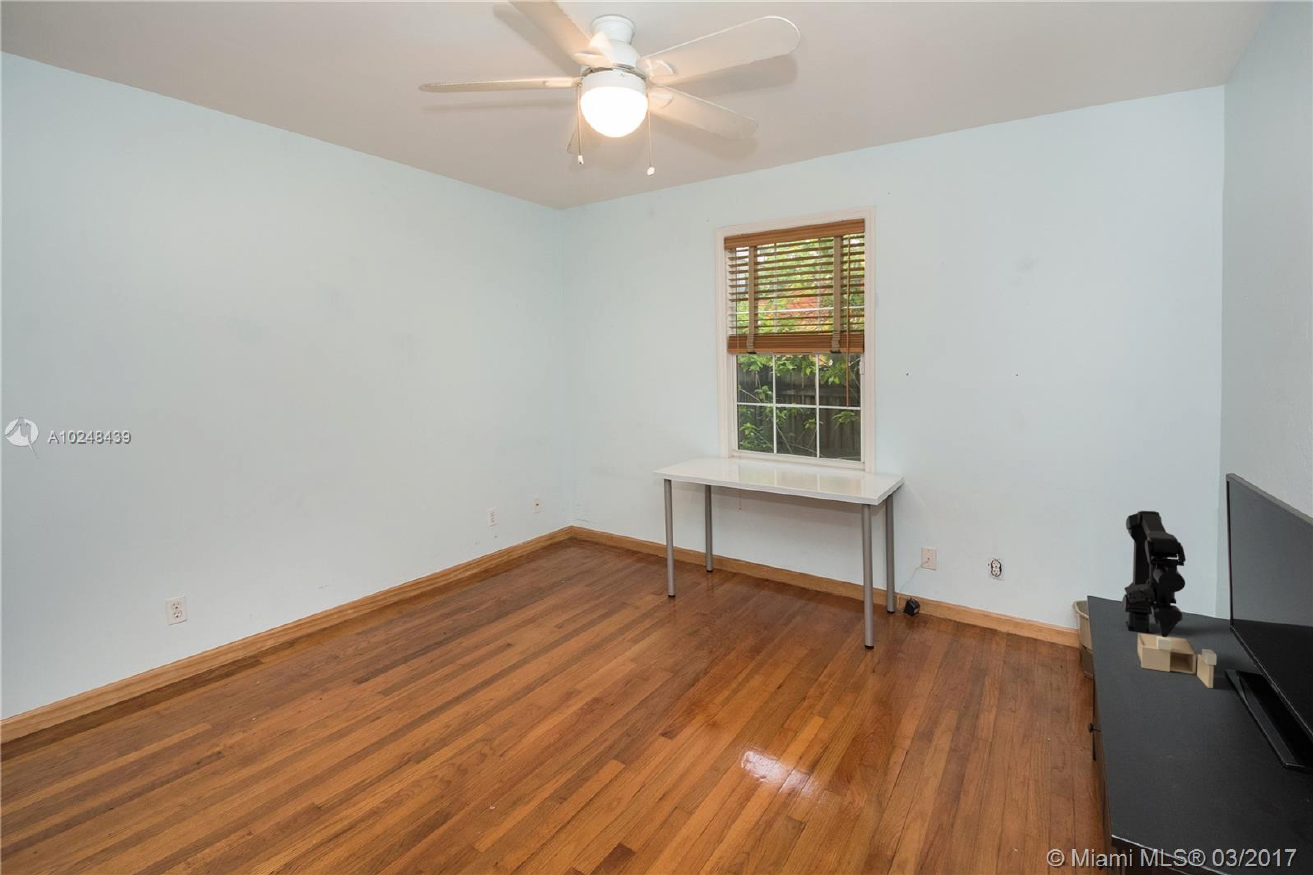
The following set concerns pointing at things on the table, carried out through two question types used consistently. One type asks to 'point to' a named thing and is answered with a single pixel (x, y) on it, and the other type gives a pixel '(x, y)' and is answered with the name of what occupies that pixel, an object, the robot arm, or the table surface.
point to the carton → (1173, 652)
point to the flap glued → (1157, 655)
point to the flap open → (1206, 666)
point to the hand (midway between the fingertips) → (1160, 630)
